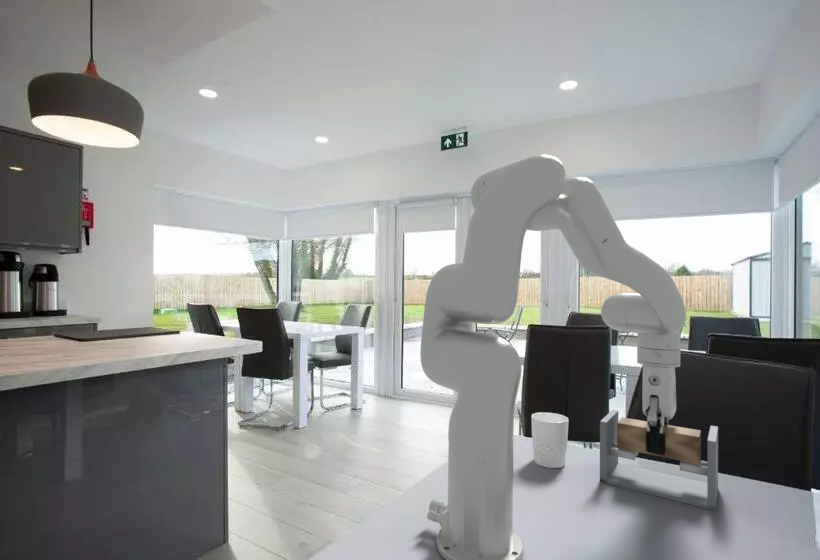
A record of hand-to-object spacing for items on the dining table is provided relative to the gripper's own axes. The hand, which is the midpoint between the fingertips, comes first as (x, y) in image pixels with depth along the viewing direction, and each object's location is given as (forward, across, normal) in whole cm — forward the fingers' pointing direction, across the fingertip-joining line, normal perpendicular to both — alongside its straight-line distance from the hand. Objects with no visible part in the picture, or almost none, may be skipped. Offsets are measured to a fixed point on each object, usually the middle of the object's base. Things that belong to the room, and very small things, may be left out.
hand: (657, 448), depth 88 cm
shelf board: (+1, 0, 0) cm, 1 cm away
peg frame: (+7, 0, 0) cm, 7 cm away
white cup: (+8, -2, +21) cm, 22 cm away
